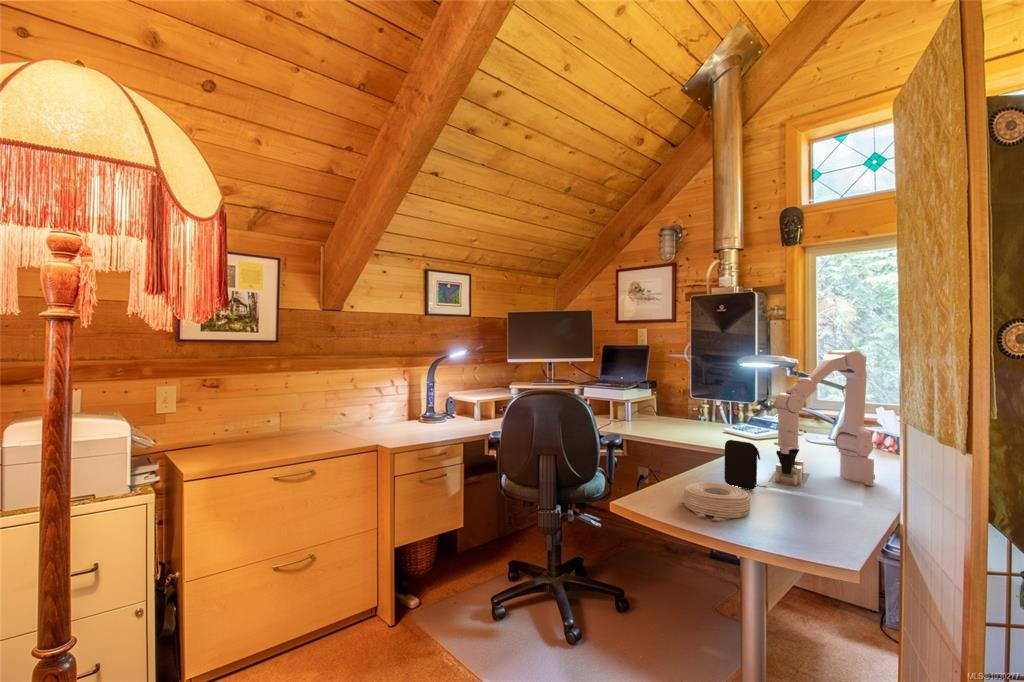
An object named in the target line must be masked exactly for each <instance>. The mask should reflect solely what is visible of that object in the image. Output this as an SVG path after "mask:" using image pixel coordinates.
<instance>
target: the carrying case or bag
mask: <svg viewBox="0 0 1024 682" xmlns="http://www.w3.org/2000/svg"><path fill="white" fill-rule="evenodd" d="M758 460H759V461H761V454H760V451H759V450H758V447H756V445H755V444H754V443H753V442H749V441H742V440H741V441H740V440H735V439H728V440H727V441H725V443H724V474H723V475H724V476H723V477H724V482H725V484H729V485H734V486H738V488H739V487H742V488H741V489H743V488H747V489H746V490H748V489H751V490H750V491H752V490H754V489H755V488H756V487H757V485H758V483H757V482H758V479H757V477H758Z"/></svg>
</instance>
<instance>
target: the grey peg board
mask: <svg viewBox="0 0 1024 682" xmlns="http://www.w3.org/2000/svg"><path fill="white" fill-rule="evenodd" d="M810 475H811V473H806V472H804V476H803V477H802V482H801V485H800V484H797V475H793V483H788V482H781V481H779V477H780V473H779V472H776V470H775V471H774V472H773V474H772V475H771V477H770V478H769V479H768V481H767V482H769V483H775V484H781V485H786V486H787V485H788V486H794V487H799V488H805V486H806V484H807V481H808V480H809V477H810Z"/></svg>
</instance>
